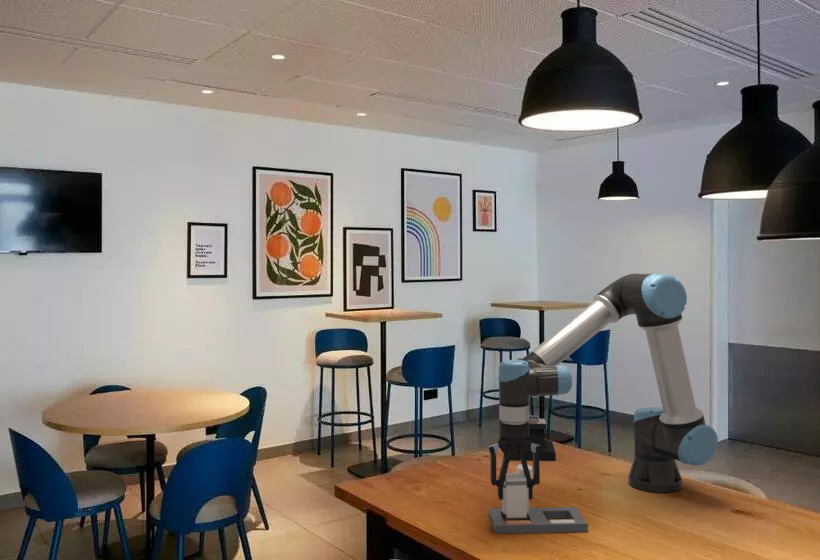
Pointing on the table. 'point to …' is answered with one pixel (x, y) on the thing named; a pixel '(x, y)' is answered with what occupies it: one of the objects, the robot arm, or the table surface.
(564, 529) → the socket block
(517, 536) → the table surface
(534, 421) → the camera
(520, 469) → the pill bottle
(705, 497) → the table surface
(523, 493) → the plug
